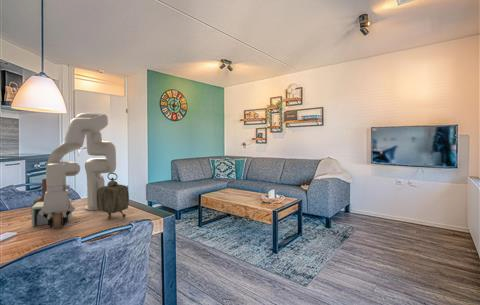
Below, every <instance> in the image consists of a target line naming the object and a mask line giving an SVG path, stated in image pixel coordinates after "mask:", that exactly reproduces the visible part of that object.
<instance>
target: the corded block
mask: <svg viewBox="0 0 480 305" xmlns="http://www.w3.org/2000/svg"><path fill="white" fill-rule="evenodd" d="M66 212H68V211H66ZM62 218H63V213H62V212H56V213H54V214H53V226H52V229H53V230H58V229H61V228H63V221H62ZM67 220H68V216H67Z"/></svg>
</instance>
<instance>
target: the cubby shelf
mask: <svg viewBox="0 0 480 305" xmlns="http://www.w3.org/2000/svg"><path fill="white" fill-rule="evenodd" d="M43 204H44V202H37V203H36V204H35V205H34V204H33V205H32V207H31V227H32V228H33V227H35V226H36V225H37V214H38V213H39V212H40V210H41V209H42V208H43ZM70 204H71V205H72V204H73V203H72V199H71V198H70ZM72 206H73V205H72ZM69 210H70V208H69ZM69 210H68V211H69ZM43 212H44V211H43ZM53 214H54V213H52V215H51V217H52V218H53ZM72 216H73V211H72V212H71V213H70V214H69V215H68V219H67V222H71V219H72Z"/></svg>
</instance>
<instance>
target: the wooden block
mask: <svg viewBox="0 0 480 305" xmlns="http://www.w3.org/2000/svg"><path fill="white" fill-rule="evenodd" d="M41 182H42V183H41V188H42V191H41V192H42V195H41V197H40V198H37V199H34V200H33V206H34V205H35V204H36V203H37V202H44V195H45V192H47V185H46V177H45V178H42V180H41Z"/></svg>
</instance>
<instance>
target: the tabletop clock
mask: <svg viewBox="0 0 480 305" xmlns="http://www.w3.org/2000/svg"><path fill="white" fill-rule="evenodd" d="M110 175H114V176H116V178H114V177H111V178H110V177H109V176H110ZM106 176H107V179H108V180H109V181H108V182H107V185H105V186H103V187H100V188H99V189H98V190H97V208H98V210H97V211H99V212H103V213H107V215H108V217H107V219H108V220H110V219H112V214H116V213H118V212H119V213H121V215H122V217H123V218H125V217H127V216H126V213H123V211H125V210H127V209H129V204H130V194H129V192H130V191H129V188H128V186H127V185H124V184H120V183H118V182H117V180H118V174H117V173H115V172H113V173H107V175H106Z"/></svg>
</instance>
